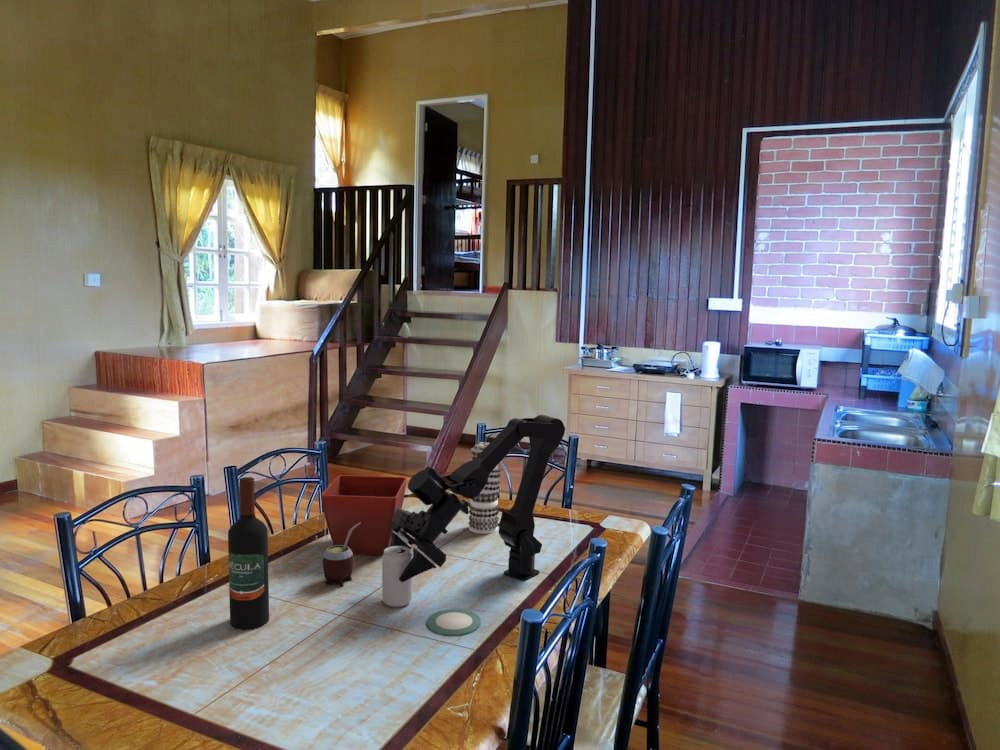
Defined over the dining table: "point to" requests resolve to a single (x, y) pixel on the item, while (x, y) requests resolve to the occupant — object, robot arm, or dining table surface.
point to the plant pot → (363, 511)
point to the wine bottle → (248, 564)
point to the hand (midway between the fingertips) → (391, 573)
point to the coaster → (453, 622)
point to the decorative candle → (485, 500)
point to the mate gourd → (338, 562)
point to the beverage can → (396, 576)
